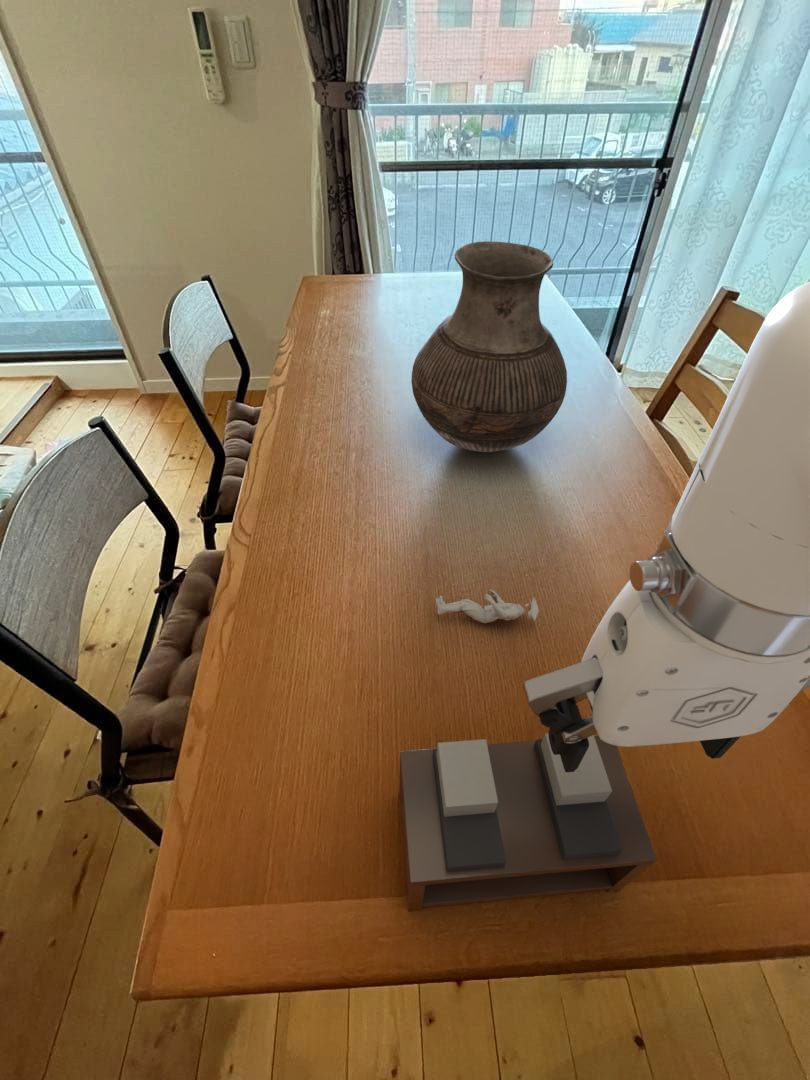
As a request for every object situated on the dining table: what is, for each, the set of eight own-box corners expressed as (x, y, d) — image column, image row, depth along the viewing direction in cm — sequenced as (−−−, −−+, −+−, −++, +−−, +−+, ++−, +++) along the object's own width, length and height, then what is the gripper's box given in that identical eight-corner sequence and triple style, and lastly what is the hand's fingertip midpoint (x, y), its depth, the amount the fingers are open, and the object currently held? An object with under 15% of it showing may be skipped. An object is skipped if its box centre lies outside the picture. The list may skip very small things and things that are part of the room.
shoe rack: (619, 891, 50) (657, 860, 42) (407, 911, 48) (410, 883, 41) (585, 777, 56) (612, 734, 49) (399, 793, 55) (399, 750, 48)
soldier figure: (442, 593, 74) (533, 577, 71) (449, 628, 74) (540, 614, 71) (431, 599, 67) (532, 582, 64) (439, 639, 66) (540, 624, 64)
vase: (435, 390, 108) (445, 219, 86) (562, 416, 102) (606, 239, 81) (389, 463, 92) (387, 275, 70) (536, 499, 86) (583, 306, 64)
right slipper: (618, 854, 43) (632, 841, 40) (562, 859, 42) (572, 846, 40) (582, 741, 49) (592, 723, 46) (533, 745, 48) (541, 727, 46)
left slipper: (504, 866, 42) (510, 853, 39) (446, 872, 42) (449, 859, 39) (482, 750, 48) (487, 732, 46) (432, 754, 48) (434, 736, 45)
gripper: (584, 661, 22) (520, 814, 34) (989, 628, 23) (788, 788, 35) (535, 530, 27) (495, 703, 39) (867, 508, 28) (728, 683, 40)
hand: (633, 743), depth 37 cm, fingers open, 9 cm apart
